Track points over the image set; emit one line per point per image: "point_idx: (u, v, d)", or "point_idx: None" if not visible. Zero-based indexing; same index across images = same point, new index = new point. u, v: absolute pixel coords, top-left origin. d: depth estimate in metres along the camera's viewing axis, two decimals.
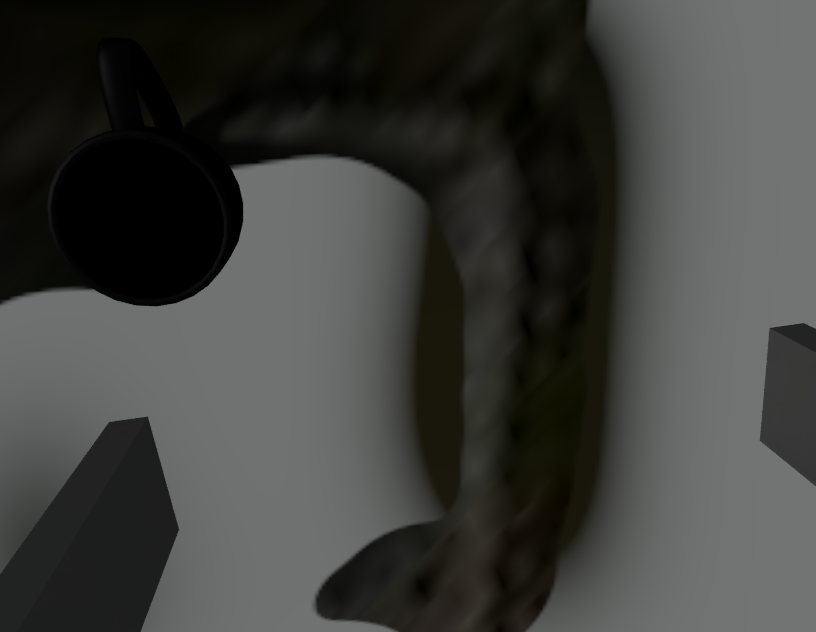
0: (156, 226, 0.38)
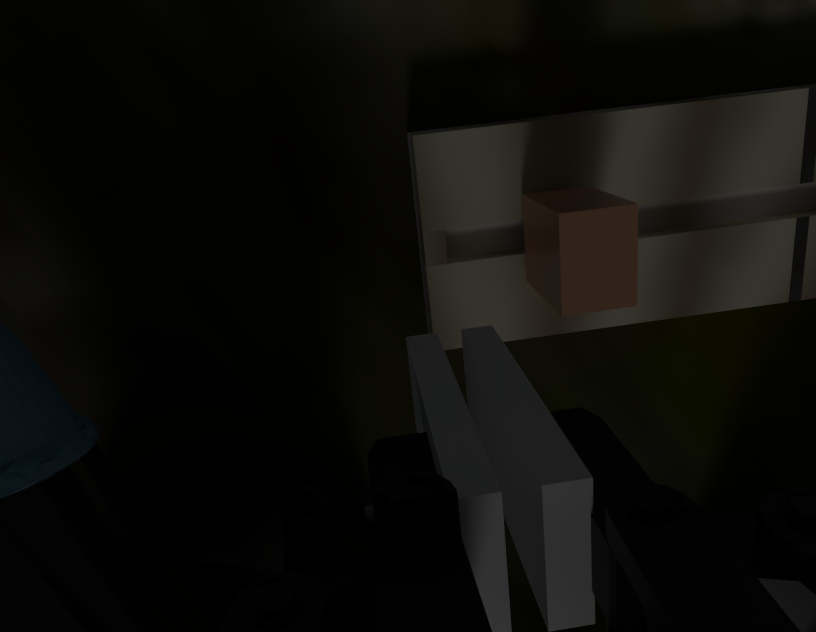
0: None
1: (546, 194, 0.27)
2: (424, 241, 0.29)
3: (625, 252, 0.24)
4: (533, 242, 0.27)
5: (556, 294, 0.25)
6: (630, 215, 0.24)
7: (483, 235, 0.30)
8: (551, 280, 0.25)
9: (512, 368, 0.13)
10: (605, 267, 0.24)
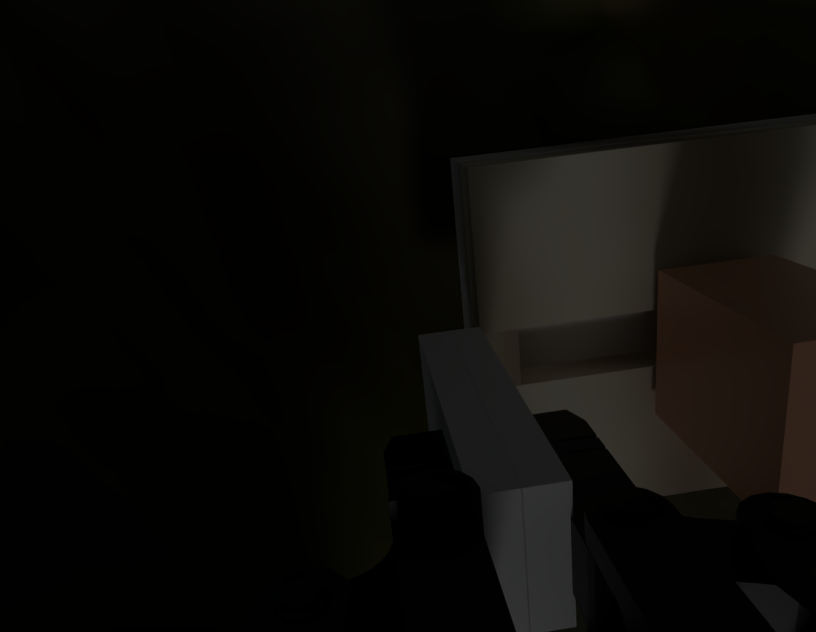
0: None
1: (708, 273, 0.15)
2: None
3: None
4: (687, 362, 0.15)
5: (757, 483, 0.13)
6: None
7: (578, 331, 0.18)
8: (743, 451, 0.13)
9: (497, 370, 0.13)
10: None
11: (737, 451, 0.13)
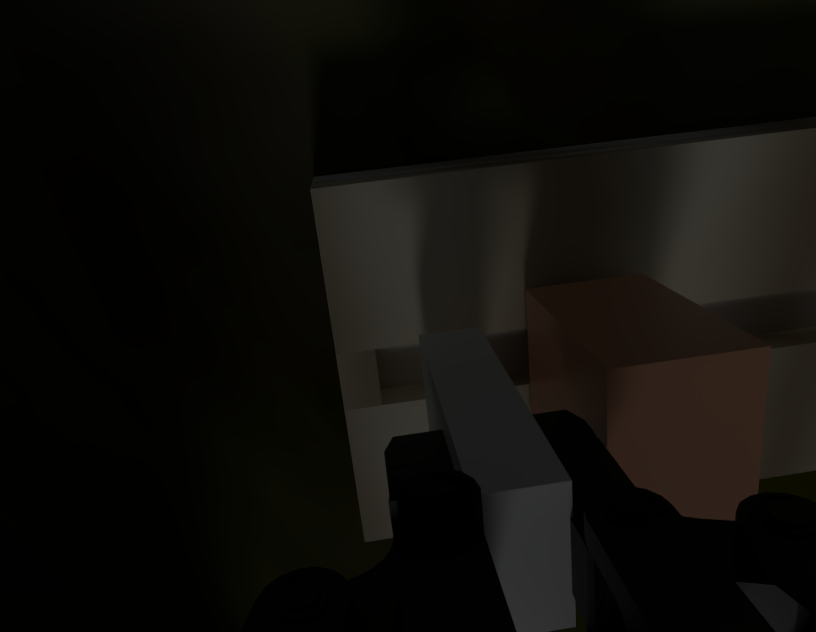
0: None
1: (569, 293, 0.15)
2: (339, 369, 0.16)
3: (739, 437, 0.12)
4: (547, 382, 0.15)
5: None
6: (753, 369, 0.11)
7: None
8: None
9: (497, 370, 0.13)
10: (698, 467, 0.12)
11: None
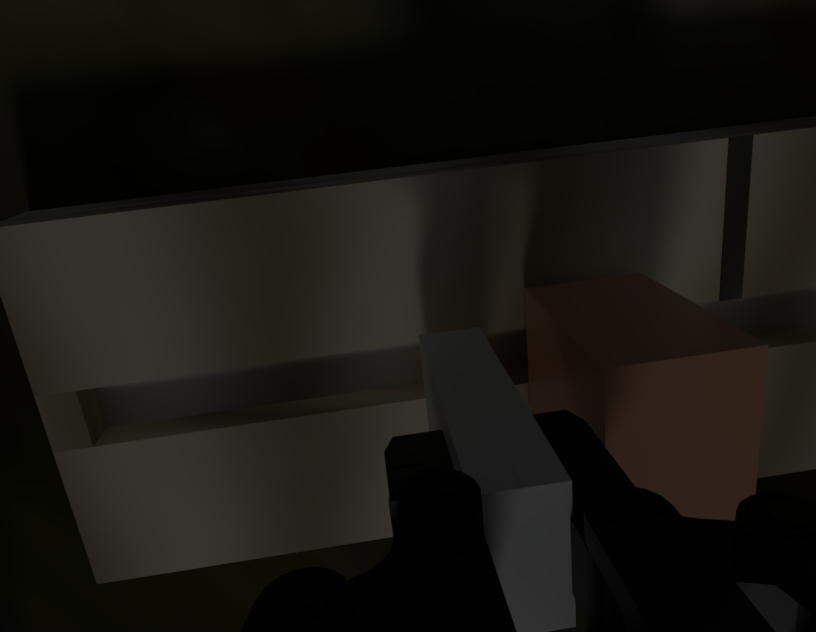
0: None
1: (568, 293, 0.15)
2: (41, 411, 0.16)
3: (737, 436, 0.12)
4: (546, 382, 0.15)
5: None
6: (751, 368, 0.11)
7: (171, 389, 0.17)
8: None
9: (497, 370, 0.13)
10: (695, 465, 0.12)
11: None
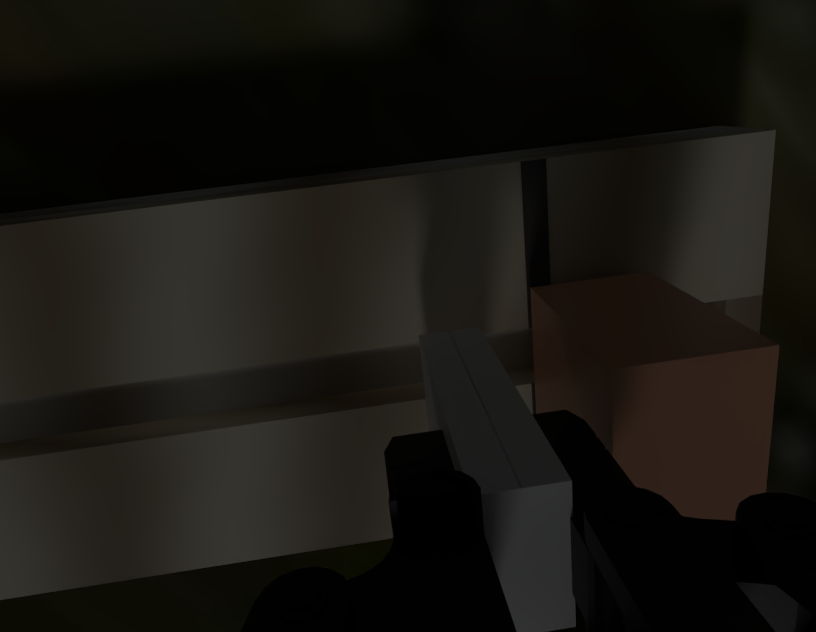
0: None
1: (575, 292, 0.15)
2: None
3: (747, 437, 0.12)
4: (552, 381, 0.15)
5: None
6: (761, 368, 0.11)
7: None
8: None
9: (497, 370, 0.13)
10: (704, 467, 0.12)
11: None
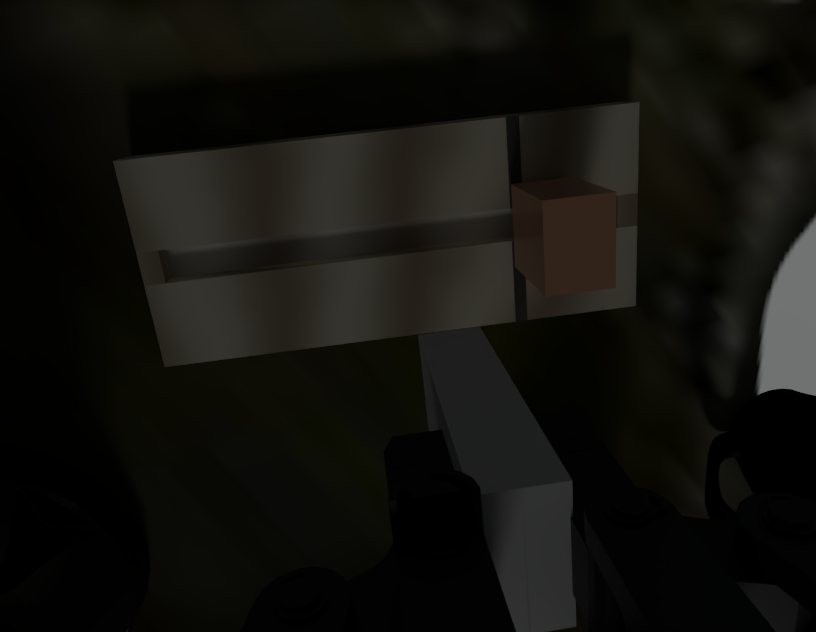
0: None
1: (533, 184, 0.29)
2: (139, 262, 0.30)
3: (605, 236, 0.26)
4: (521, 229, 0.29)
5: (540, 276, 0.27)
6: (609, 202, 0.25)
7: (207, 255, 0.31)
8: (536, 263, 0.27)
9: (497, 370, 0.13)
10: (586, 251, 0.26)
11: (535, 265, 0.27)
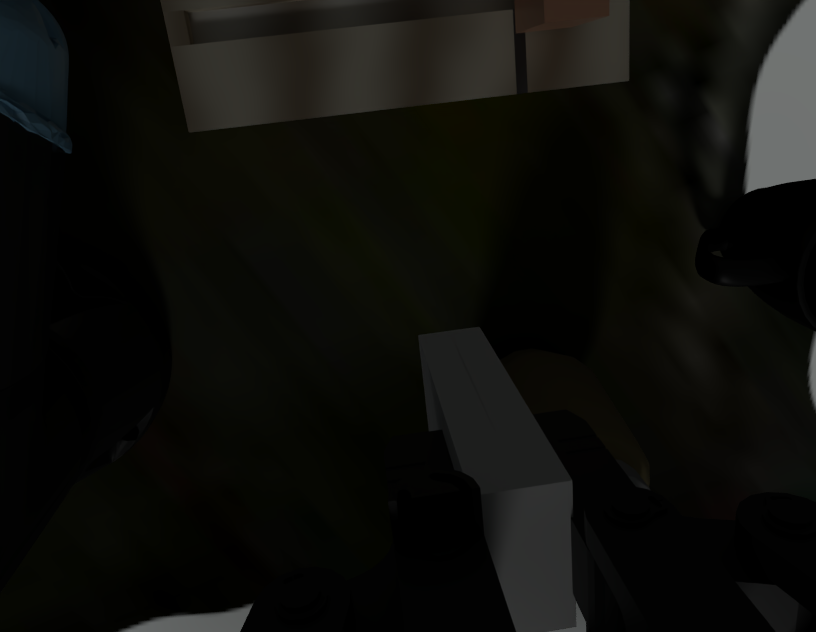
0: None
1: None
2: (165, 21, 0.32)
3: None
4: None
5: (540, 6, 0.29)
6: None
7: (228, 24, 0.33)
8: None
9: (497, 370, 0.13)
10: None
11: (535, 2, 0.30)
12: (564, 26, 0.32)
